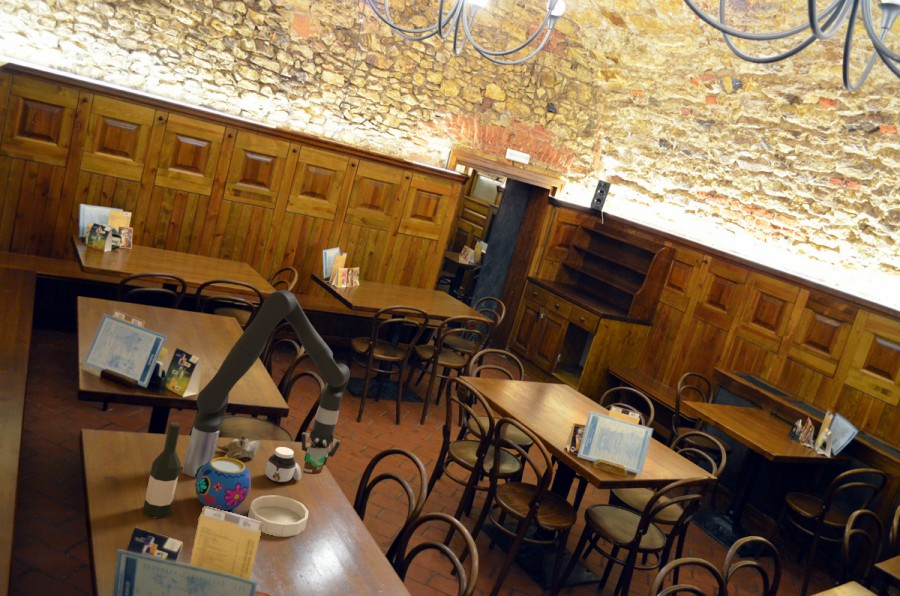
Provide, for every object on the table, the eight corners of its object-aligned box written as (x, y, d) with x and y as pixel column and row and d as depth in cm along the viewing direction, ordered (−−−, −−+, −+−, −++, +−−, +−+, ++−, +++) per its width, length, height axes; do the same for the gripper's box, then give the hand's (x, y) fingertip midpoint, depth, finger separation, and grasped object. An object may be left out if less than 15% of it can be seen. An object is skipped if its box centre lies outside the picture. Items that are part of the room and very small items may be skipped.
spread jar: (260, 477, 271) (267, 448, 269) (278, 469, 281) (284, 441, 279) (287, 489, 267) (294, 460, 265) (304, 480, 277) (311, 452, 275)
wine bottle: (176, 511, 233) (194, 424, 228) (158, 521, 225) (177, 431, 220) (155, 502, 235) (173, 415, 230) (136, 511, 227) (155, 421, 222)
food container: (317, 479, 251) (324, 452, 250) (301, 473, 252) (307, 447, 251) (330, 467, 263) (336, 441, 262) (314, 462, 264) (320, 436, 263)
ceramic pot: (188, 491, 247) (197, 450, 245) (241, 494, 255) (250, 454, 252) (192, 518, 231) (202, 475, 229) (248, 520, 239) (258, 478, 237)
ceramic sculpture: (264, 442, 280) (225, 443, 273) (261, 463, 282) (221, 464, 274) (257, 431, 289) (218, 431, 282) (254, 451, 291) (215, 452, 283)
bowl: (243, 530, 232) (246, 517, 232) (253, 502, 251) (255, 491, 250) (302, 541, 235) (305, 529, 234) (307, 513, 254) (310, 501, 253)
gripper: (304, 418, 250) (293, 463, 253) (345, 427, 252) (333, 472, 255) (306, 411, 257) (295, 455, 260) (346, 420, 259) (335, 463, 262)
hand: (314, 463), depth 257 cm, fingers closed on food container, 5 cm apart
